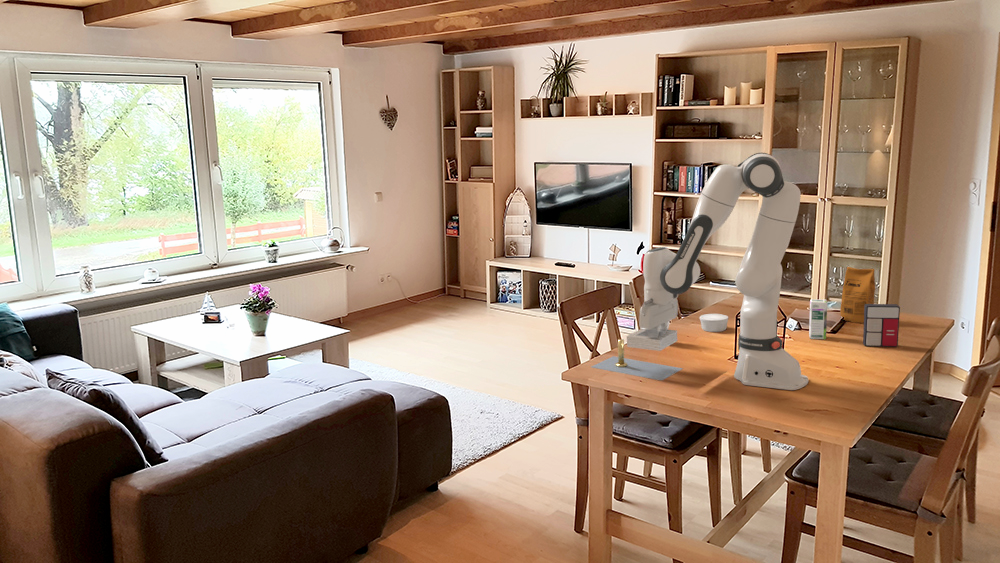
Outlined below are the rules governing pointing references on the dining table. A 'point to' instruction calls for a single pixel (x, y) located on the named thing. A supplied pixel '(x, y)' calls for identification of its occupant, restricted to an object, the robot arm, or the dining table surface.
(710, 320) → the ramekin
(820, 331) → the syrup box
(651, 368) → the keeper board
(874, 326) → the calculator
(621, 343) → the brass peg
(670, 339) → the grey recessed tray
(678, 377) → the dining table surface
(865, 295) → the coffee package
